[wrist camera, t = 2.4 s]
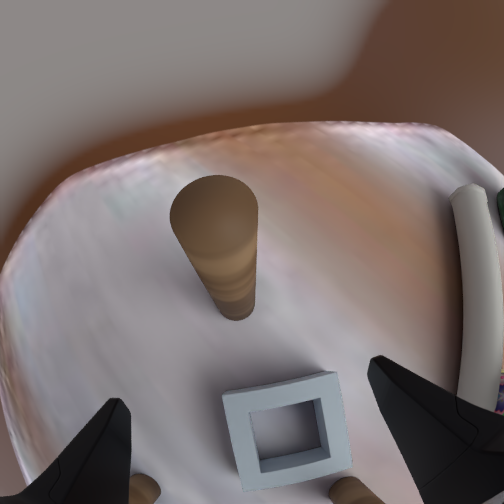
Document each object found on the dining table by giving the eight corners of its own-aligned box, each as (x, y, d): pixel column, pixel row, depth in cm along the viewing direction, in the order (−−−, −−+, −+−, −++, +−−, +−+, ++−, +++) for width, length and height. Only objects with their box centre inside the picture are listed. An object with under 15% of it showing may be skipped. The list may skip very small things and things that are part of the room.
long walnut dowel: (258, 317, 21) (266, 242, 8) (220, 323, 21) (171, 258, 8) (251, 282, 23) (249, 169, 10) (215, 288, 22) (169, 183, 9)
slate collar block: (340, 455, 16) (352, 466, 14) (244, 476, 16) (243, 491, 13) (325, 371, 20) (337, 371, 17) (226, 390, 19) (221, 395, 16)
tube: (501, 420, 12) (492, 197, 22) (484, 431, 11) (474, 177, 21) (462, 420, 17) (462, 214, 27) (439, 428, 16) (441, 197, 25)
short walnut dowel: (164, 500, 14) (141, 531, 9) (134, 497, 14) (106, 523, 9) (156, 474, 16) (128, 501, 10) (125, 472, 15) (93, 494, 10)
